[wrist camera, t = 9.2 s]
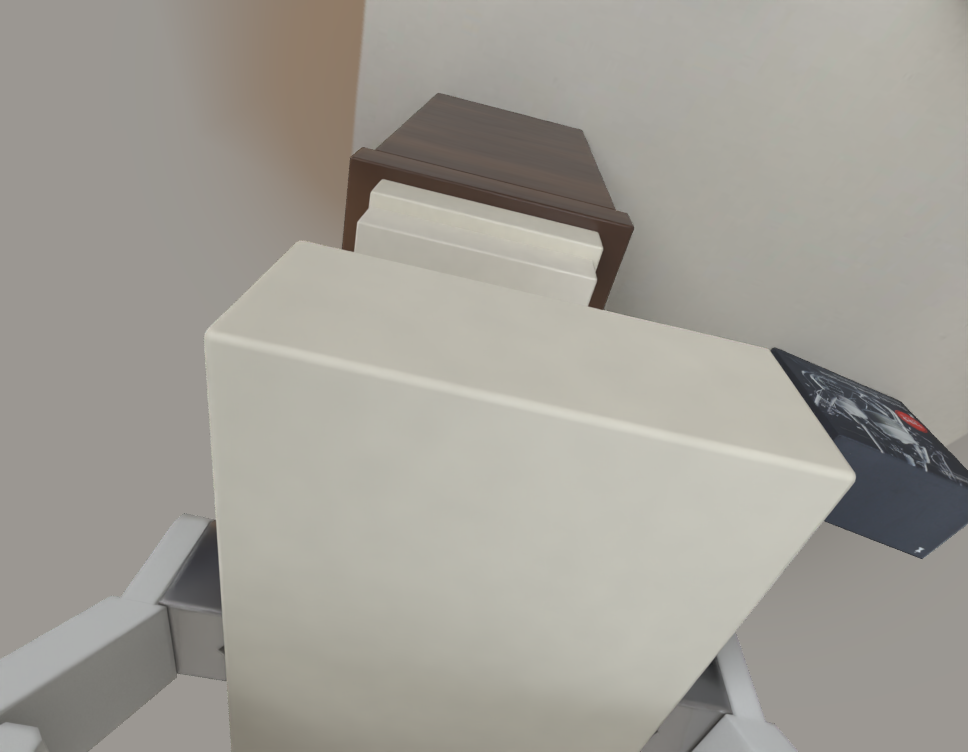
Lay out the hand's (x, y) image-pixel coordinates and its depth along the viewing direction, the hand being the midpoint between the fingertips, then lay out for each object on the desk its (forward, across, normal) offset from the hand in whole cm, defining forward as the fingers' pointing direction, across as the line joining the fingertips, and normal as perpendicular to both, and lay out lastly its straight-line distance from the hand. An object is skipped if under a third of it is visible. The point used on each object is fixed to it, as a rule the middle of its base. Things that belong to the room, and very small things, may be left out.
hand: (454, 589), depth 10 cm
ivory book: (+1, 0, 0) cm, 1 cm away
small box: (+36, -30, +14) cm, 48 cm away
